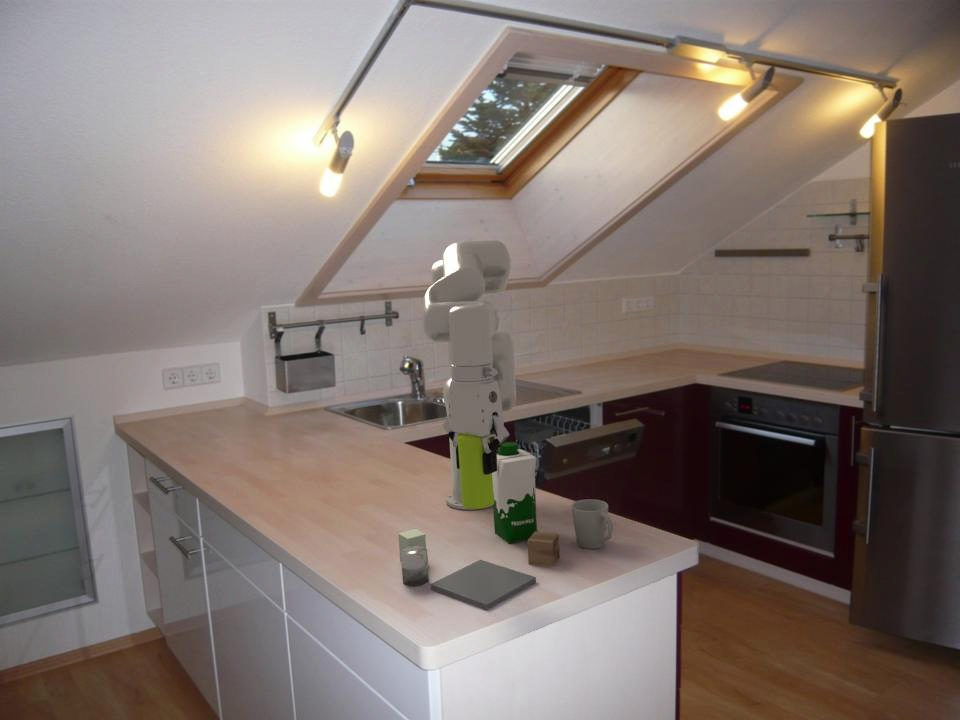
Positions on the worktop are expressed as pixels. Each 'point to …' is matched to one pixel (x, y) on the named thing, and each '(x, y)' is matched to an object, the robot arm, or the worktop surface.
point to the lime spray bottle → (474, 473)
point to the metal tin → (414, 566)
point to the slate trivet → (483, 584)
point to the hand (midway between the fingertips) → (476, 469)
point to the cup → (591, 523)
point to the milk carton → (514, 494)
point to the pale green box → (411, 539)
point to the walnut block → (543, 548)
